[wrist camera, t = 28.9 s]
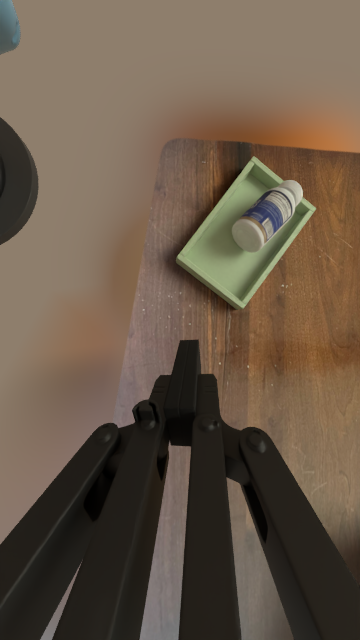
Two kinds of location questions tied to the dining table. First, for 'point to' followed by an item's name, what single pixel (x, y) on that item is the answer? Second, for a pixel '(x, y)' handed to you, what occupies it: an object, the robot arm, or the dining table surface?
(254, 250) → the pill bottle
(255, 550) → the dining table surface
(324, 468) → the dining table surface
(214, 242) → the tray
